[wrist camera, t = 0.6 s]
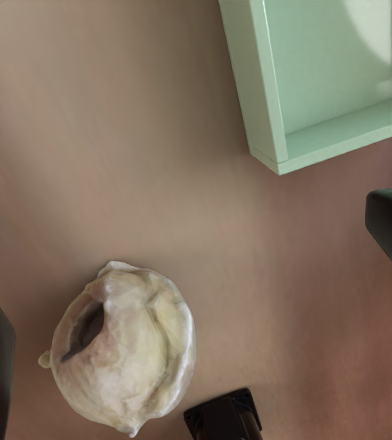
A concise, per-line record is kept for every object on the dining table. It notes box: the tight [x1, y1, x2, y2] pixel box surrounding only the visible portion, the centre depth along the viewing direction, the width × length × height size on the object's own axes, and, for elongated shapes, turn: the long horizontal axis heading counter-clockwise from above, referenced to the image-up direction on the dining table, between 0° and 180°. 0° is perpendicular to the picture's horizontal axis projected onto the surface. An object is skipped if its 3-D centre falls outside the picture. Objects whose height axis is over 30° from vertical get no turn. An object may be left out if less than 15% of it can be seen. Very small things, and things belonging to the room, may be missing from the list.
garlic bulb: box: [38, 261, 196, 438], centre depth 22 cm, size 9×8×10 cm
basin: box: [218, 0, 392, 176], centre depth 19 cm, size 13×13×5 cm
